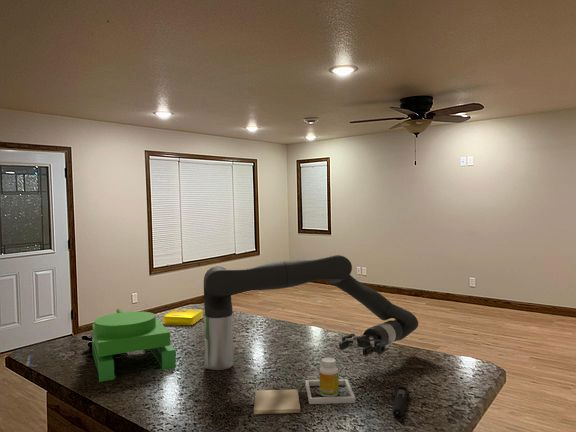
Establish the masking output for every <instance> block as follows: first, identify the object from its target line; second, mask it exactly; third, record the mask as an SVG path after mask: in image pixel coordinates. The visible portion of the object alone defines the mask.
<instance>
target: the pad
mask: <svg viewBox="0 0 576 432" xmlns="http://www.w3.org/2000/svg"><path fill="white" fill-rule="evenodd" d="M254 392H255V393H254V402H253V403H254V407H253V415H260V414H261V415H265V414H267V415H268V414H295V413H296V414H299V413H301V405H300V398H299V392H298V388H297V389H265V390H264V389H263V390H261V389H260V390H255V391H254Z"/></svg>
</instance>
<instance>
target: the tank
mask: <svg viewBox="0 0 576 432" xmlns="http://www.w3.org/2000/svg"><path fill="white" fill-rule="evenodd" d="M156 316H157V315H156V314H155V313H153V312H149V311H124V312H123V310H122V309H121V308H117V309H116V312H115V313H110V314H105V315H103V316H100V317H97V318H95V320H94V321H93V323H92V337H93V338H92V339H91V340H92V341H91V345H92V346H91V347H92V349H91V351H92V352H91V353H92V357H93V359H94V360H93V361H94V364H95V366H96V369H97V373H98V382H99V383H102V382H106V381H112V380H115V379H116V378H117V376H116V374H115V373H116V372H115V359H114V356H113V355H119V354H125V353H131V352H137V351H144V350H149V351H150V353H151V354H152V356H154V358H155V359H156V361H157V363H158V364H159V365H160V366H161V371H168V370H173V369H176V368H177V367H178V365H177V364H176V363H177V361H176V359H177V355H176V353H177V352H176V351H177V350H176V349H175V348H174V346H173V345H172V344H171V332H170V331H169V329H168V328H167V327H166V326H164V324H163V323H162V322H161V321H160V320H159V319H158V318H157V317H156Z"/></svg>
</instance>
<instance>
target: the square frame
mask: <svg viewBox="0 0 576 432" xmlns="http://www.w3.org/2000/svg"><path fill="white" fill-rule="evenodd" d="M304 382H305V383H304V385H305V389H306V395H307V400H308V405H318V404H319V405H321V404H322V405H324V404H325V405H327V404H355V403H356V395H355V394H354V392H353V389H352V387H351V385H350V383H349V380H348V378H345V379H344V378H341V379H339V386H345V389H346V391H347V393H348V396H335V397H325V396H321V397H320V396H319V397H317V396H316V397H312V393H311V388H310V387H316V386H317V387H318V386H319V387H320V379H308V380H307V379H305V381H304Z"/></svg>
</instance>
